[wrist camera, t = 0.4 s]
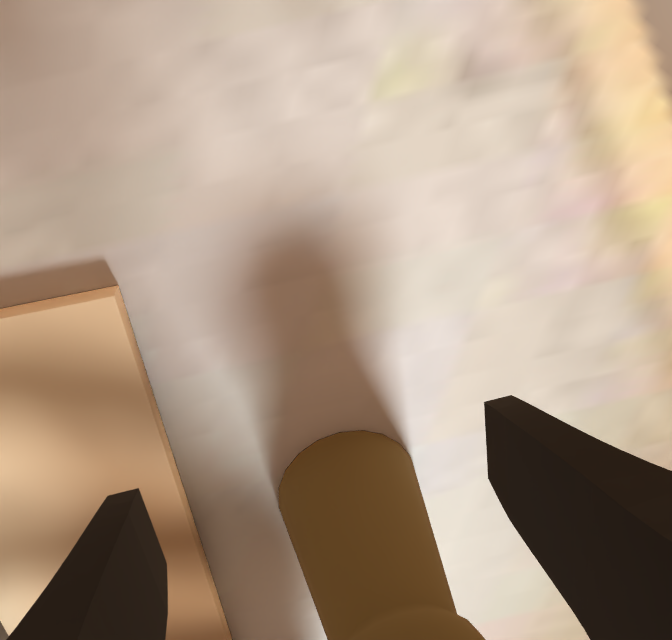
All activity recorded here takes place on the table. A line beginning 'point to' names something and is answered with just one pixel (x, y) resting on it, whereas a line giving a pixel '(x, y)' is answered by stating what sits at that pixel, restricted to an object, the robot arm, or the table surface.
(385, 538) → the cork
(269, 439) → the table surface
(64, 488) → the shelf board
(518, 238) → the table surface
